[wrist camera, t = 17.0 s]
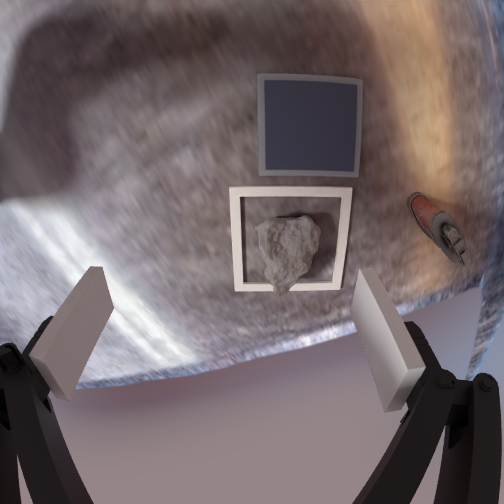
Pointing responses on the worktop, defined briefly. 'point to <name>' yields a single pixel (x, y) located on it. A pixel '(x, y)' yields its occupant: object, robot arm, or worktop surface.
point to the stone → (287, 249)
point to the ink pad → (309, 125)
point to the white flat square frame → (289, 191)
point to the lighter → (439, 228)
